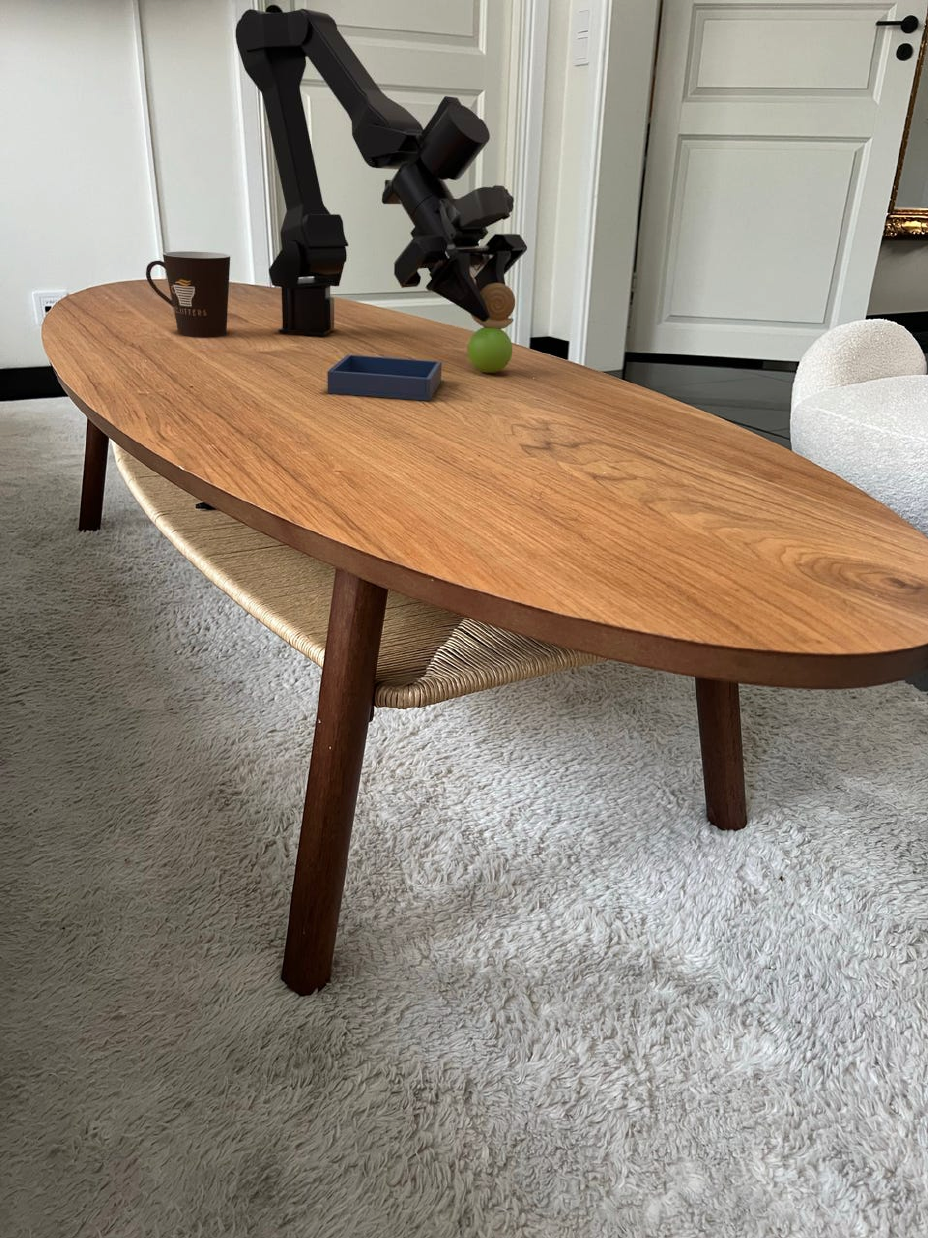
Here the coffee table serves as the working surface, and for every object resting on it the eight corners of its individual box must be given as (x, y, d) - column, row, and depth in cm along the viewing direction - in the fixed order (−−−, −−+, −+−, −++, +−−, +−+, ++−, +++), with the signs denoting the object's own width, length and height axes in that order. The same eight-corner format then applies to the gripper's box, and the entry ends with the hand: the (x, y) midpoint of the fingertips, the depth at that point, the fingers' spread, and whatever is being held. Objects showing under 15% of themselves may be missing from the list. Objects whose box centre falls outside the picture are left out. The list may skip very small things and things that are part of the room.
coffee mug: (247, 335, 124) (243, 257, 120) (192, 340, 118) (185, 258, 114) (200, 322, 131) (194, 248, 126) (145, 327, 125) (138, 249, 121)
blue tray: (327, 393, 96) (327, 371, 95) (347, 374, 105) (347, 354, 104) (429, 401, 96) (430, 379, 95) (440, 381, 104) (441, 361, 103)
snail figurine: (457, 365, 113) (464, 263, 107) (508, 369, 113) (517, 267, 108) (458, 374, 108) (466, 267, 102) (511, 378, 108) (522, 272, 103)
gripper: (415, 153, 96) (488, 276, 95) (521, 161, 109) (587, 268, 108) (363, 227, 104) (430, 341, 103) (467, 226, 117) (528, 327, 115)
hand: (497, 318), depth 107 cm, fingers closed on snail figurine, 4 cm apart
